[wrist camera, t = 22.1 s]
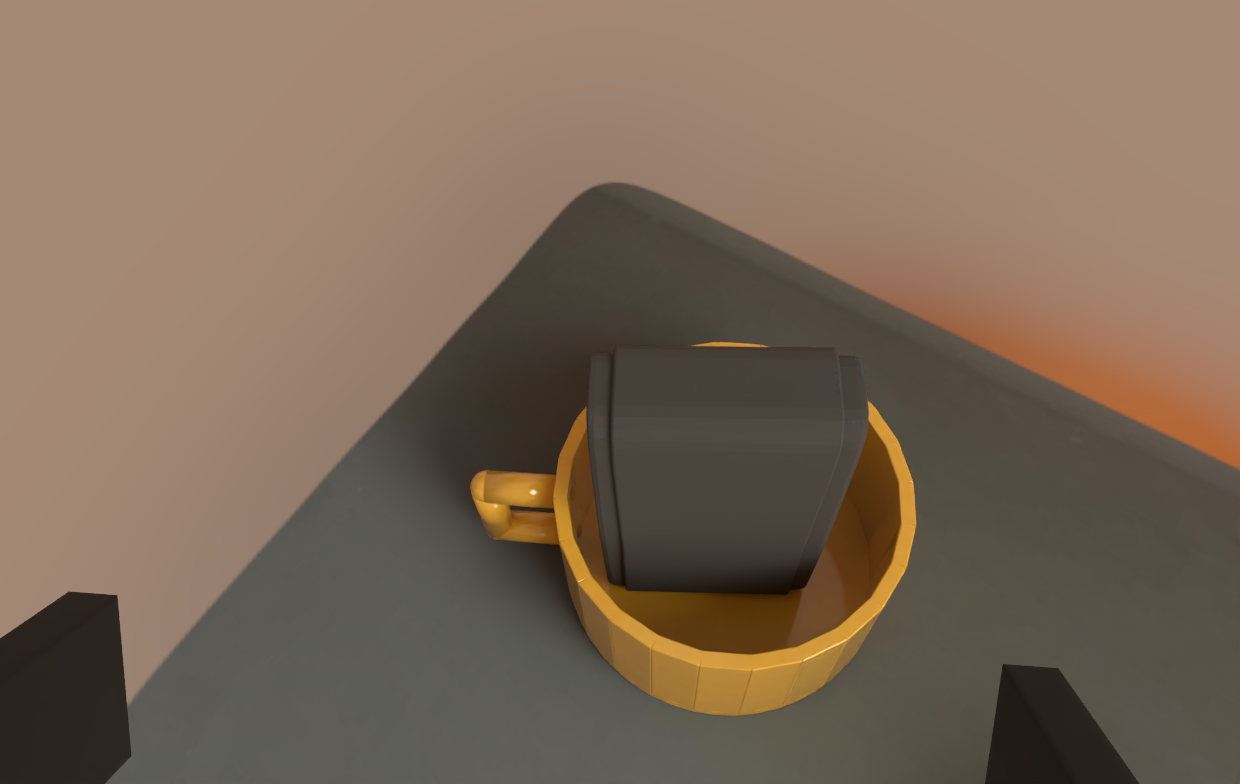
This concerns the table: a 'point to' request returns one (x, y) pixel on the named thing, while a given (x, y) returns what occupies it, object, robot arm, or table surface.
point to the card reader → (721, 462)
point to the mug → (721, 622)
